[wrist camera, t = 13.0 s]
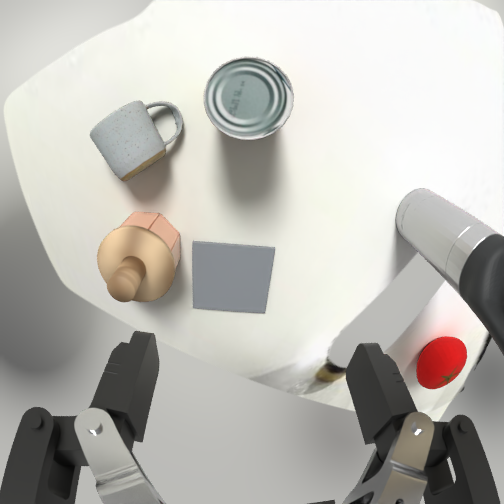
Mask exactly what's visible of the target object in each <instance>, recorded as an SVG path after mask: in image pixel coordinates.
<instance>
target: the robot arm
mask: <svg viewBox="0 0 504 504" xmlns="http://www.w3.org/2000/svg"><path fill="white" fill-rule="evenodd" d="M396 224H397V229H398V231H399V233H400V234H401V236H402V237H403V238H404V239H405V240H406V241H407V242H409V243H410V244H411V245H412V246H413V247H414V248H415V249H416V250H417V251H418V252H419V253H420V254H421V255H422V256H423V257H424V258H425V259H426V260H427V261H428V262H429V263H430V264H431V265H432V266H433V267H434V268H435V269H436V270H437V271H438V272H439V273H440V274H441V276H442V277H443V278H444V279H445V280H446V281H447V282H448V283H449V284H450V285H451V286H452V287H453V288H454V289H455V291H456V292H457V293H458V294H459V295H460V296H461V297H462V298H463V300H464V301H465V302H466V303H467V304H468V305H469V307H470V308H471V309H472V311H473V312H474V313H475V314H476V316H477V317H478V318H479V319H480V321H481V322H482V323H483V325H484V326H485V327H486V329H487V330H488V332H489V333H490V334H491V336H492V338H493V339H494V341H495V342H496V344H497V345H498V347H499V349H500V350H501V352H502V353H503V355H504V237H503V236H502V235H501V234H499V233H498V232H496V231H495V230H493V229H492V228H491V227H489V226H488V225H486V224H484V223H483V222H481V221H480V220H478V219H477V218H475V217H474V216H472V215H471V214H469V213H468V212H466V211H464V210H463V209H461V208H459V207H458V206H456V205H454V204H453V203H451V202H449V201H448V200H446V199H444V198H443V197H441V196H439V195H437V194H436V193H434V192H432V191H430V190H428V189H416V190H414V191H412V192H410V193H409V194H408V195H407V196H406V197H405V198H404V199H403V200H402V202H401V204H400V206H399V208H398V211H397V216H396ZM158 372H159V356H158V350H157V345H156V339H155V335H154V333H147V332H140V331H135V332H134V333H133V336H132V338H131V340H130V343H123V342H121V343H120V344H119V345H118V346H117V347H116V348H115V349H114V350H113V351H112V353H111V355H110V358H109V361H108V364H107V365H106V367H105V370H104V372H103V375H102V377H101V380H100V382H99V385H98V388H97V390H96V393H95V396H94V398H93V401H92V403H91V405H90V407H89V408H88V409H85V410H84V411H82V412H81V413H79V414H78V415H77V416H52V415H51V414H50V413H49V412H48V411H47V410H46V409H44V408H40V407H34V408H31V409H29V410H28V411H26V412H25V413H24V415H23V417H22V419H21V422H20V425H19V427H18V430H17V433H16V436H15V439H14V442H13V445H12V448H11V452H10V455H9V458H8V462H7V466H6V469H5V473H4V477H3V481H2V485H1V490H0V504H75V498H76V492H77V485H78V480H79V475H80V470H81V466H90V468H91V470H92V472H93V475H94V477H95V479H96V482H97V483H96V489H97V492H98V494H99V496H100V498H101V500H102V501H103V503H104V504H166V503H165V502H164V500H163V499H162V498H161V496H160V495H159V493H158V492H157V491H156V489H155V488H154V486H153V485H152V483H151V482H150V480H149V479H148V477H147V476H146V474H145V473H144V471H143V469H142V468H141V466H140V464H139V462H138V461H137V459H136V457H135V455H134V454H133V452H132V448H133V443H134V441H138V442H143V438H144V433H145V428H146V423H147V419H148V415H149V410H150V406H151V401H152V397H153V393H154V389H155V384H156V381H157V377H158ZM346 381H347V384H348V387H349V390H350V394H351V397H352V400H353V404H354V407H355V410H356V413H357V417H358V420H359V424H360V427H361V431H362V434H363V438H364V441H365V444H372V443H375V444H376V448H375V449H374V452H373V453H372V456H371V458H370V460H369V462H368V464H367V466H366V468H365V470H364V472H363V474H362V476H361V478H360V480H359V482H358V483H357V485H356V487H355V488H354V489H353V490H352V491H351V492H350V494H349V495H348V496H347V497H346V499H345V500H344V502H343V504H420V501H421V498H422V496H424V500H425V504H500V500H499V497H498V493H497V489H496V486H495V482H494V479H493V476H492V472H491V469H490V467H489V463H488V461H487V458H486V455H485V452H484V450H483V447H482V444H481V441H480V439H479V437H478V434H477V431H476V429H475V427H474V424H473V422H472V421H471V420H470V418H468V417H467V416H465V415H457V416H455V417H454V418H453V419H452V420H451V421H450V422H435V421H432V420H431V418H430V417H429V416H428V415H426V414H424V413H422V412H418V411H417V409H416V407H415V404H414V402H413V400H412V397H411V395H410V393H409V391H408V389H407V386H406V384H405V382H403V381H404V380H403V378H402V376H401V374H400V371H399V369H398V367H397V365H396V363H395V362H394V361H393V360H392V359H391V358H390V357H389V356H388V355H387V354H383V352H382V350H381V348H380V346H379V344H378V343H362V344H359V345H358V346H357V348H356V350H355V352H354V355H353V357H352V359H351V361H350V363H349V365H348V367H347V370H346ZM449 457H450V458H451V461H452V465H453V468H454V471H455V475H456V481H455V484H454V482H453V478H452V475H451V471H450V468H449V465H448V461H447V459H448V458H449ZM310 504H335V501H334V500H330V501H323V502H317V503H310Z"/></svg>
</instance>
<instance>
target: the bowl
mask: <svg viewBox="0 0 504 504" xmlns="http://www.w3.org/2000/svg"><path fill="white" fill-rule="evenodd" d="M127 225H134V226H140V227H144V228H146V229H149V230H151V231H152V232H154V233H155V234H157V235H158V236H159V237H161V238H162V239H163V240H164V242H165V243H166V244H167V245H168V247H169V248H170V250H171V252H172V254H173V257H174V260H175V270H176V267H177V264H178V262H179V259H180V234H179V232H178V231H177V230H176V229H175V228H174V227H173V226H172V225H171V224H170V223H169V222H168V221H167V220H166V219H165V218H164V217H163V216H162V215H161V214H160V215H159V213H145V212H134V213H132V214H131V215H130V216H129V217H128V218H127V219H126V220H125V222H124V223H123V224H122V225H121V226H120V227H122V226H127Z"/></svg>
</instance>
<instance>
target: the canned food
mask: <svg viewBox="0 0 504 504" xmlns="http://www.w3.org/2000/svg"><path fill="white" fill-rule="evenodd" d="M293 101H294V94H293V89H292V85H291V83H290V81H289V79H288V77H287V75H286V74H285V73H284V72H283V71H282V70H281V69H280V68H279V67H278V66H277V65H275V64H273V63H272V62H270V61H268V60H265V59H262V58H258V57H240V58H236V59H232V60H230V61H228V62H226V63H224V64H222V65H221V66H220V67H219V68H218V69H216V70H215V71H214V72H213V74H212V75H211V77H210V78H209V80H208V81H207V84H206V87H205V90H204V106H205V110H206V113H207V115H208V117H209V119H210V120H211V122H212V123H213V124H214V125H215V126H216V127H217V128H218V129H219V130H220V131H221V132H223V133H225V134H226V135H228V136H230V137H233V138H237V139H240V140H256V139H260V138H265V137H267V136H269V135H271V134H273V133H275V132H276V131H277V130H278V129H280V128H281V127H282V126H283V125H284V124H285V122H286V121H287V119H288V118H289V117H290V114H291V111H292V108H293Z"/></svg>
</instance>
